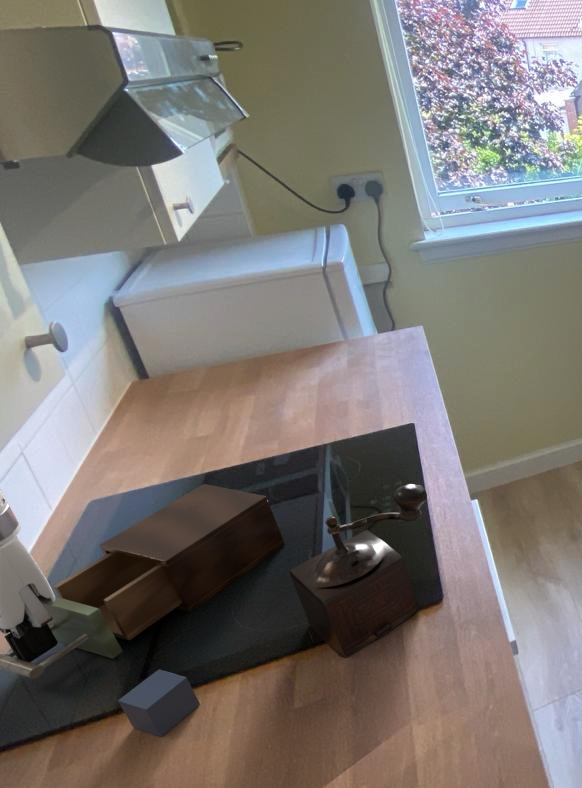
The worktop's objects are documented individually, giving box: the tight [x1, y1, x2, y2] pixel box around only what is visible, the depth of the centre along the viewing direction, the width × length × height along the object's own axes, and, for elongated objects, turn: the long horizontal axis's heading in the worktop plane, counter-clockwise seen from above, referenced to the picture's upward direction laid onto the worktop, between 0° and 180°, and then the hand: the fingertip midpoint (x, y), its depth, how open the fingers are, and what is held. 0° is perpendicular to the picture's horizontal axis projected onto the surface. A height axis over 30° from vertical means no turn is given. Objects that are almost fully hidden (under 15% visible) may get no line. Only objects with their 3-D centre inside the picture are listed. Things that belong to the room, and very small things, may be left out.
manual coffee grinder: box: [289, 483, 428, 658], centre depth 97 cm, size 16×11×18 cm
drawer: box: [0, 552, 182, 679], centre depth 96 cm, size 20×11×7 cm, turn 164°
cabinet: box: [99, 483, 286, 614], centre depth 107 cm, size 15×13×9 cm
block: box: [117, 669, 201, 738], centre depth 85 cm, size 4×4×4 cm
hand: (39, 652), depth 90 cm, fingers closed
